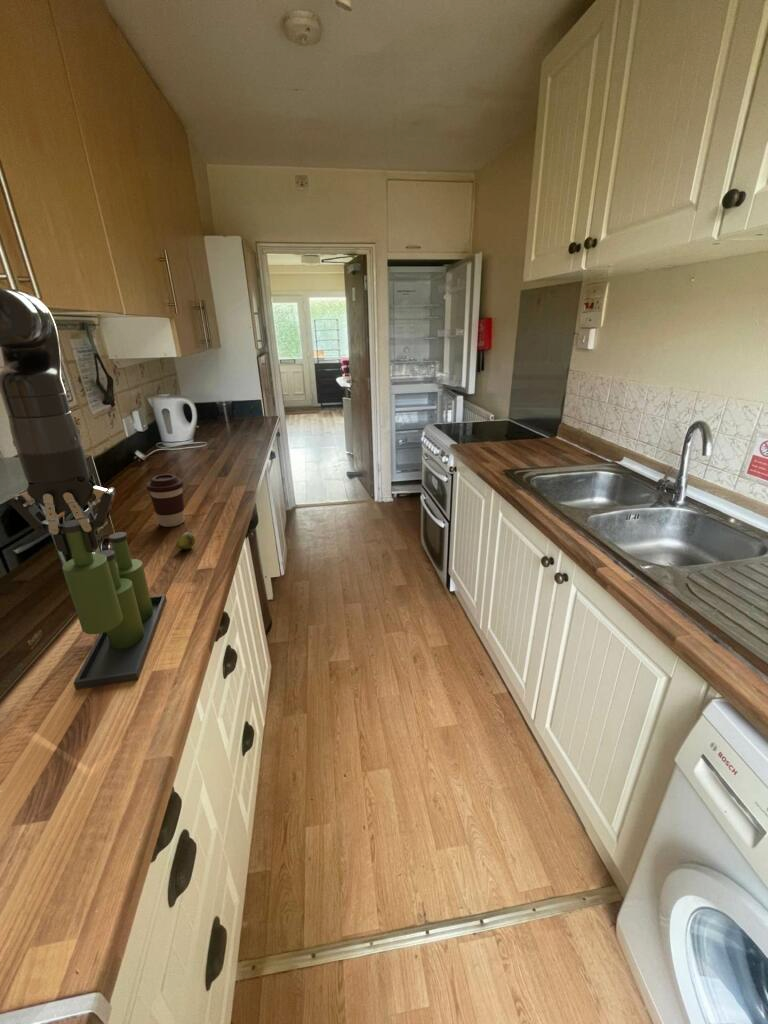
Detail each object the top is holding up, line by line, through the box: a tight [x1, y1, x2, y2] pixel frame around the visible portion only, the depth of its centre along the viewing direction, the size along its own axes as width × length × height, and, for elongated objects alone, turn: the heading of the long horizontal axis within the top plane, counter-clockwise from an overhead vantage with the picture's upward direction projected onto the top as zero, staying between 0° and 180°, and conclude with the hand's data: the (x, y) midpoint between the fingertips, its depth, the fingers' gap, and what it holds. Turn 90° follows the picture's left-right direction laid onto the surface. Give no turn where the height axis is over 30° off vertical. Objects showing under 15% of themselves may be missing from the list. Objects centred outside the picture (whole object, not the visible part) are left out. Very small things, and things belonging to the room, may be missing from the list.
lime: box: [176, 531, 196, 551], centre depth 118 cm, size 4×5×5 cm
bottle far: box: [108, 531, 154, 622], centre depth 87 cm, size 6×6×19 cm
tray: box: [73, 594, 168, 691], centre depth 84 cm, size 24×10×2 cm, turn 14°
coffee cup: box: [146, 473, 186, 528], centre depth 131 cm, size 10×10×15 cm
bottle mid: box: [96, 549, 145, 649], centre depth 80 cm, size 6×6×19 cm
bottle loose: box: [61, 518, 123, 635], centre depth 70 cm, size 6×6×19 cm
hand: (80, 550), depth 68 cm, fingers closed on bottle loose, 3 cm apart
